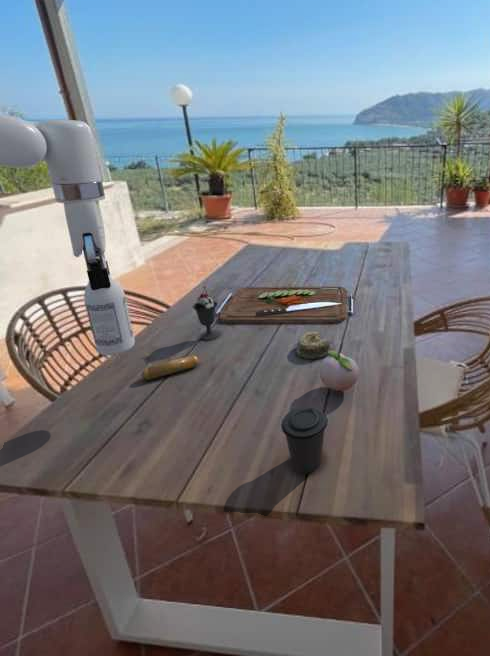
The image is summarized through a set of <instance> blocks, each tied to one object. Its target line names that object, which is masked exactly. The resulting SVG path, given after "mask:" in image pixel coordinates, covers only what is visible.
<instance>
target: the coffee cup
mask: <svg viewBox="0 0 490 656" xmlns="http://www.w3.org/2000/svg"><path fill="white" fill-rule="evenodd" d="M283 417H284V418H283V419H282V421H281V424H280V425H281V431H282V432H283V434H284V435H285V439H286V442H287V443H286V444H287V448H288V450H289V451H288V452H289V457H290V461H291V464H292V468H293V469H294V471H296V472H298V473H300V474H311V473H313V472H315V471H317V469H318V468H320V466H321V464H322V456H323V448H324V447H323V446H324V438H325V430H326V428H327V427H328V421H329V420H328V417H327V415H326V414H325V413H324V412H323V410H321V409H320V408H317V407H315V406H309V405H305V406H299V407H296V408H294V409H291V410H290V411H288V413H287V414H286V415H284V416H283Z"/></svg>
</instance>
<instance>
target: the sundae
mask: <svg viewBox="0 0 490 656" xmlns="http://www.w3.org/2000/svg"><path fill="white" fill-rule="evenodd" d="M217 307H218V301H217V300H214V299H213V298H212V297H211V296H210V295H209V294H208V291H207V290H206V286H203V291H202V293H200V295H199V297H198V298H197V299H196V302H195V303H194V304H193V305H192V308H193V309H194V310H195V312H196V314H197V318H198V321H199V323H200V325H202V326H204V327H206V328H205V329H206V332H203V333H202V334H201V335H200V339H201V340H202V341H211V340H215V339H217V338H218V336H219V333H218V332H217V331H215V330H213V331H212V329H211V326H212V325H213V324H214V323H215V321H216V320H215V319H216V314H215V313H216V308H217Z"/></svg>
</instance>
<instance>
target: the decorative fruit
mask: <svg viewBox="0 0 490 656" xmlns="http://www.w3.org/2000/svg"><path fill="white" fill-rule="evenodd" d="M327 353H328V354H327V355H326V356H325V358H323V360H322V361H321V363H320V365H319V368H318V372H319V373H318V374H319V378H320V380H321V382H322V383H323V385H324V386H325V387H326V388H327V389H330V390H333V391H336V392H345V391H348V390H350V389H351V388H352V387H353V386H354V385H355V384H357V383H356V382H357V381H358V379H359V377H360V368H359V366H358V363H357V362H356V361H355V360H354V359H353V358H351V357H349V356H345V355H344V354H343V353H341V352H339V351H337V350H332V351H328V352H327Z"/></svg>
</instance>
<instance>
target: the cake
mask: <svg viewBox="0 0 490 656" xmlns="http://www.w3.org/2000/svg"><path fill="white" fill-rule="evenodd" d="M319 337H320V336H319V333H318V331H309V332H305V333H303V334H302V335H301V336H300V337H299V338H298V341H297V344H296V345H297V348H296V354H297V355H298V357H300V358H304V359H307V360H315V359H319V358H323V357H327V356H328V355H329V354H328V353H327V352H328V351H333V345H332V343H331V340H330V339H326V338H322V339H320V338H319Z"/></svg>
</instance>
